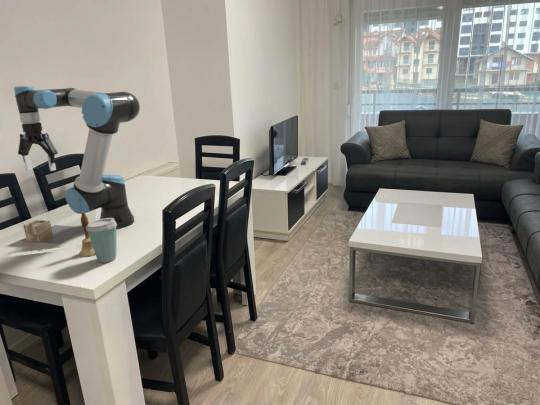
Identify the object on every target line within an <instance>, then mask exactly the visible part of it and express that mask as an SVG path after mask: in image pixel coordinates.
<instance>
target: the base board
mask: <svg viewBox="0 0 540 405" xmlns="http://www.w3.org/2000/svg"><path fill="white" fill-rule="evenodd" d="M51 228H52V233H53V236H52V237H50V238H48V239H46V240H44V241H42V242H40V243H43V244H44V243H45V244H55V245H59V244H61V243H64V242H66V241H68V240H70V239H71V238H74V237H75V236H77V235H79V234H81V233H83V232H84V228H83V226H71V225H59V224H55V225H51ZM22 241H23V242H28V241H27V239H26V237H25V238H23V239H21V240H20V242H22ZM29 242H31V243H33V242H32V241H29Z"/></svg>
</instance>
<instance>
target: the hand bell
mask: <svg viewBox="0 0 540 405" xmlns="http://www.w3.org/2000/svg"><path fill="white" fill-rule="evenodd" d="M80 217H81V218H80V223H81V227H83V228H84V239H82V240H81V243H82V244H81V249H80V251H79V253H78V255H79V256H80V257H85V258H87V257H92V256H96V254H95V251H94V249H93V246H92V243H91V240H90V237H89V234H88V232H87V230H86V226H87V225H88V224H89V223H90V222H89V218H88V216H87V214H86V213H82V214H81V216H80Z"/></svg>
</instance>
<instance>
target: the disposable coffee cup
mask: <svg viewBox="0 0 540 405" xmlns="http://www.w3.org/2000/svg"><path fill="white" fill-rule="evenodd" d="M116 226H117V224H116V222H115V221H114V218H104V219H100V218H99V219H96V220H93V221H91V222H89V224H88V225H87V226H86V230H87V232H88V234H89V237H90V240H91V243H92V246H93V249H94V251H95V254H96V255H95V257H96V259H97V261H98V262H99V263H110V262H112V261H115V259H116V258H117V229H116Z"/></svg>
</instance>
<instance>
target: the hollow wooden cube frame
mask: <svg viewBox="0 0 540 405" xmlns="http://www.w3.org/2000/svg"><path fill="white" fill-rule="evenodd" d="M37 222H40V223H41V224H39V225H32V224H34V223H37ZM22 227H23V230H24V234H25V238H26V239H27V241H26V242H30V241H32V242H31V243H41V242H42V241H44V240H46V239H48V238H50V237H52V236H53V233H52V228H51V227H52V224H51V220H46V219H35V220H32V221H31V222H28V223H26V224H23V226H22Z"/></svg>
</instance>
